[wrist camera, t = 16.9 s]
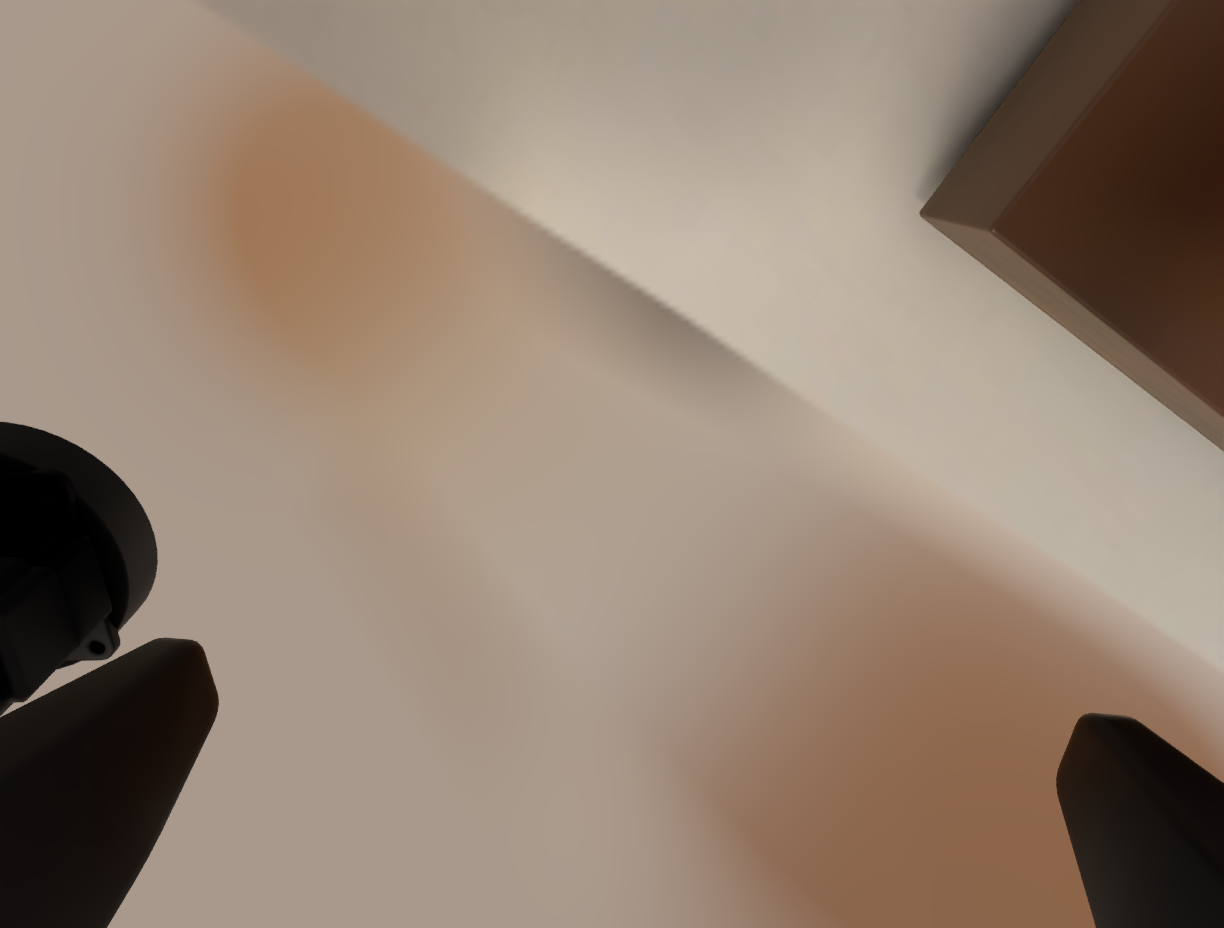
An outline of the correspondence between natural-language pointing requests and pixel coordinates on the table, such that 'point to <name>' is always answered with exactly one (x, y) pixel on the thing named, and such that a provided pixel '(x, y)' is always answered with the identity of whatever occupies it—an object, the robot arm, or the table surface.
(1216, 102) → the brown wooden slab
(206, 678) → the robot arm
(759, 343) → the table surface
